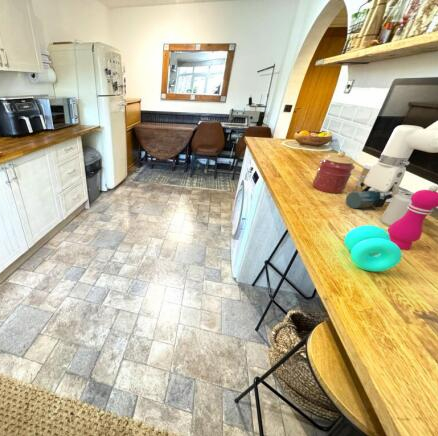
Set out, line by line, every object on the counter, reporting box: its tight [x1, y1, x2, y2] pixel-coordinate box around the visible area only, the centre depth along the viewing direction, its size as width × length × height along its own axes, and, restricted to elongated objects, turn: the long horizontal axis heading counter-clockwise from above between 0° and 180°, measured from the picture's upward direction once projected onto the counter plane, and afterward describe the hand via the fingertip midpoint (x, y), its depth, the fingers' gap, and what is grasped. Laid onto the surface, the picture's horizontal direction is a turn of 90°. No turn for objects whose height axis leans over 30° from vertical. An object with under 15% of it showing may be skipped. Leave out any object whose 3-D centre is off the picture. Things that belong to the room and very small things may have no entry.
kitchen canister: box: [311, 151, 356, 194], centre depth 111 cm, size 13×13×18 cm
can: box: [380, 190, 415, 228], centre depth 84 cm, size 8×8×12 cm
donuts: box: [343, 224, 403, 273], centre depth 66 cm, size 10×10×10 cm
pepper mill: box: [387, 185, 438, 251], centre depth 71 cm, size 7×7×20 cm
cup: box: [345, 189, 381, 209], centre depth 97 cm, size 6×6×10 cm
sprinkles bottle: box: [352, 162, 375, 192], centre depth 108 cm, size 5×5×13 cm
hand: (369, 202), depth 98 cm, fingers closed on cup, 6 cm apart
